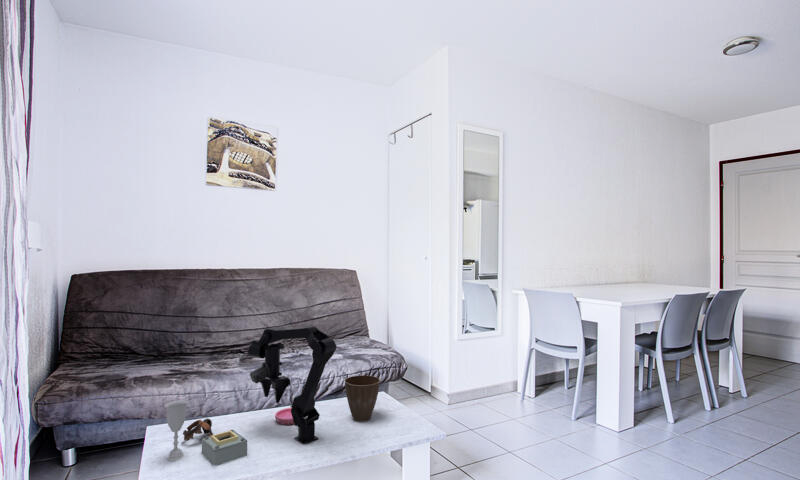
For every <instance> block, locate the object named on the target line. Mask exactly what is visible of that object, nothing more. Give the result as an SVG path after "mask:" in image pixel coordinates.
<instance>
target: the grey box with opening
mask: <svg viewBox="0 0 800 480" xmlns="http://www.w3.org/2000/svg"><path fill="white" fill-rule="evenodd" d="M201 454H202V455H203V457H205V458H206V459H207V460H208V461H209V462H210V463H211V464H212V465H213V466H214V467H216V466H218V465H222V464H224V463H228V462H230V461H233V460H236V459H240V458H242V457H246V456H248V440H247V438H245V437H244V436H242V435H241V434H240V433H239V432H237V431H236V430H234V429H230V430H228V431H227V430H226V431H223V432H219V433H216V434H213V435H212V436H210V437H208V436H205V437H203V438H201Z"/></svg>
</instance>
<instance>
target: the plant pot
mask: <svg viewBox="0 0 800 480" xmlns="http://www.w3.org/2000/svg"><path fill="white" fill-rule="evenodd" d="M380 383H381V379H380V378H379V377H377V376H373V375H365V374H364V375H363V374H362V375H360V374H359V375H352V376H349V377H347V378H345V379H344V387H345V393H346V400H347V403H348V407H349V410H350V414H351V417H352V420H354V421H356V422H368V421H370V420H371V418H372V416H373V413H374V410H375V407H376V404H377V403H376V402H377V399H378V394H379V390H380V389H379V388H380V385H381V384H380Z"/></svg>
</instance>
